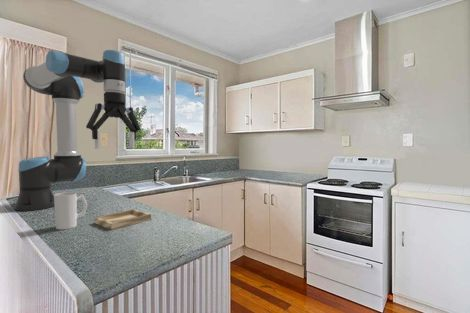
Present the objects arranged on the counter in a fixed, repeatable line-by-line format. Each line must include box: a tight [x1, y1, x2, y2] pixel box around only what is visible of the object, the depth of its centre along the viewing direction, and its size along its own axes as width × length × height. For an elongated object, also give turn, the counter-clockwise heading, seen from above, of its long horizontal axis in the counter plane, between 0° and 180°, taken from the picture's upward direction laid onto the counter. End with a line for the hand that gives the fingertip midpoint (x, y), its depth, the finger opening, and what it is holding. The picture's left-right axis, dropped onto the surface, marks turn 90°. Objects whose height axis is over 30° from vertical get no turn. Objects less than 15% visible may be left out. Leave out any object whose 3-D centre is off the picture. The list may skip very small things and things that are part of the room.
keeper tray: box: [94, 209, 152, 231], centre depth 99 cm, size 13×16×2 cm
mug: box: [53, 191, 88, 231], centre depth 93 cm, size 10×7×12 cm, turn 129°
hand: (115, 148), depth 100 cm, fingers open, 13 cm apart
